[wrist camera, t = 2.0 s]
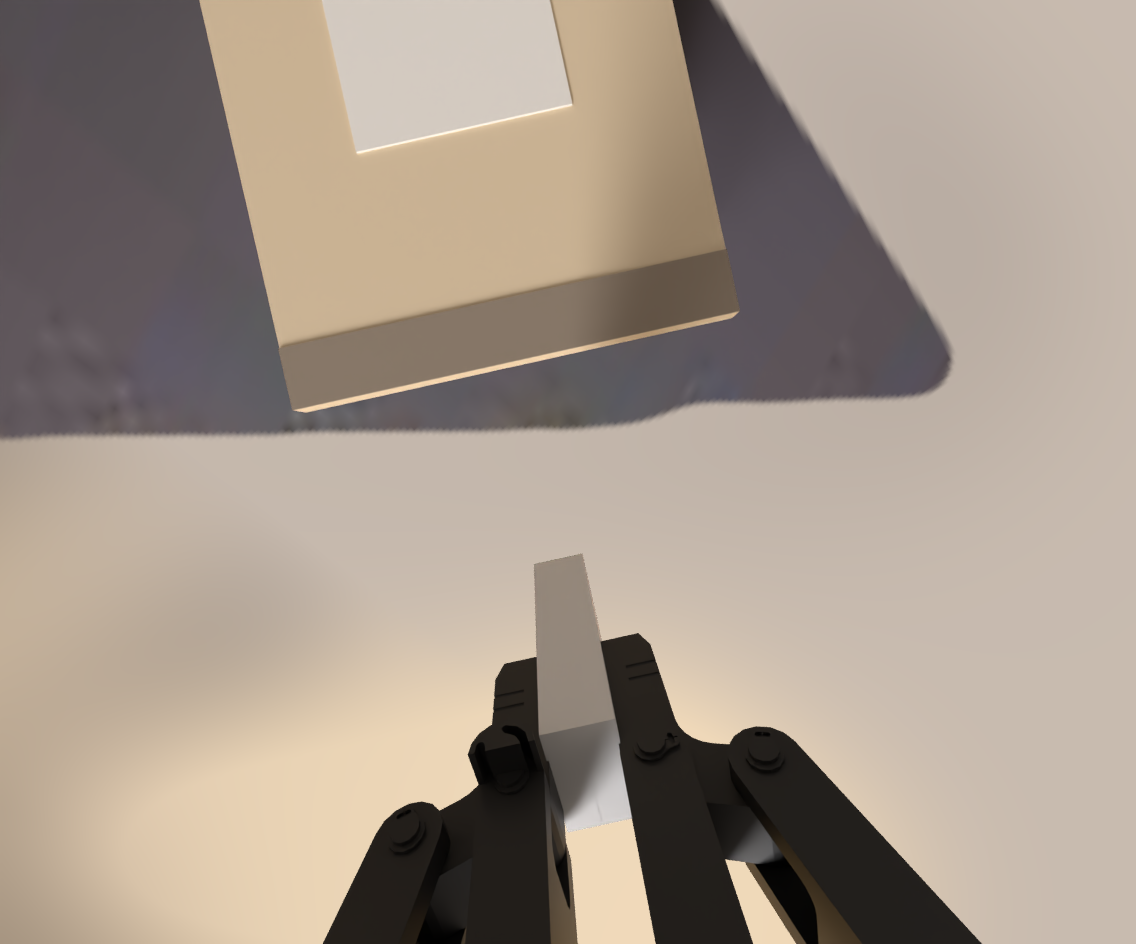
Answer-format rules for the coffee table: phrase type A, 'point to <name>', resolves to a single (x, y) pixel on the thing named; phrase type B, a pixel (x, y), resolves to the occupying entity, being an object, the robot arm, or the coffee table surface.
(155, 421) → the coffee table surface
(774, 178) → the coffee table surface
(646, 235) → the carton lid
